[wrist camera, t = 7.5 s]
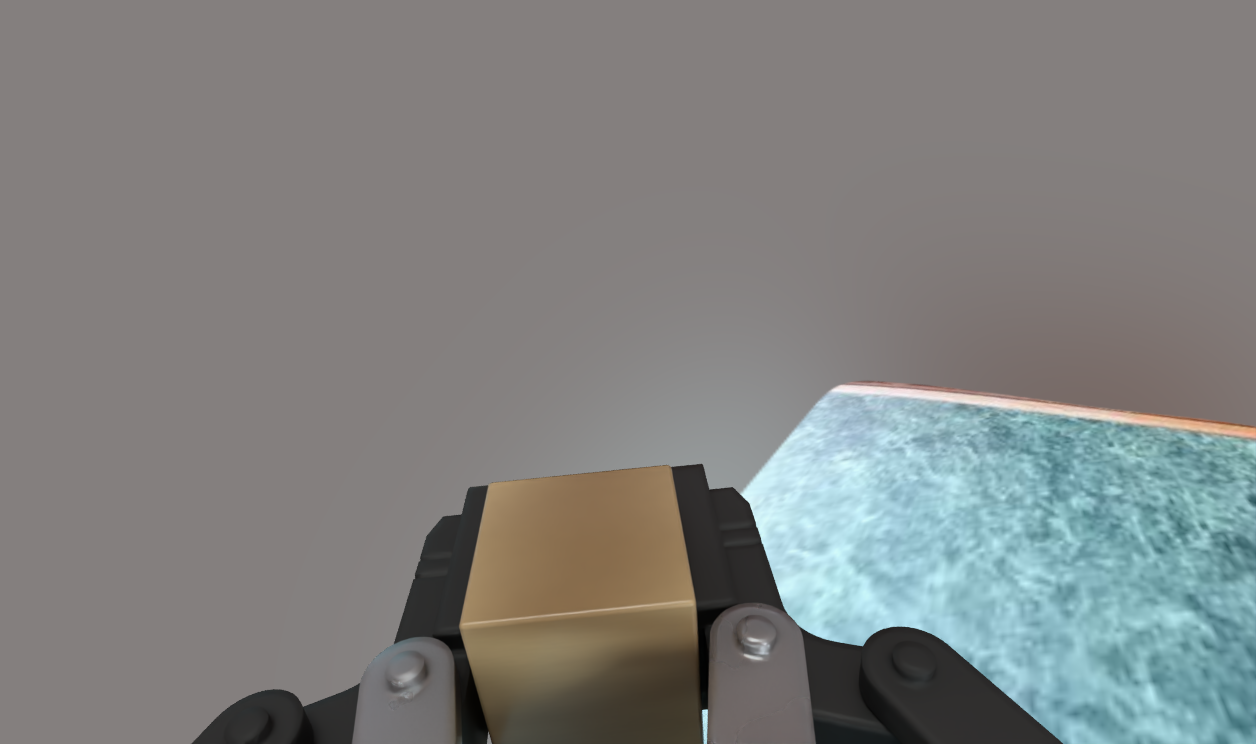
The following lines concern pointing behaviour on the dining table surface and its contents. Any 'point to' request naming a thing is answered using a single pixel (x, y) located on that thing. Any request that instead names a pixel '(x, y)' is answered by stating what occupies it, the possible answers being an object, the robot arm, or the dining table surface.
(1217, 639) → the dining table surface
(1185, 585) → the dining table surface
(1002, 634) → the dining table surface
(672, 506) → the pillar on square base
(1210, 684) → the dining table surface
